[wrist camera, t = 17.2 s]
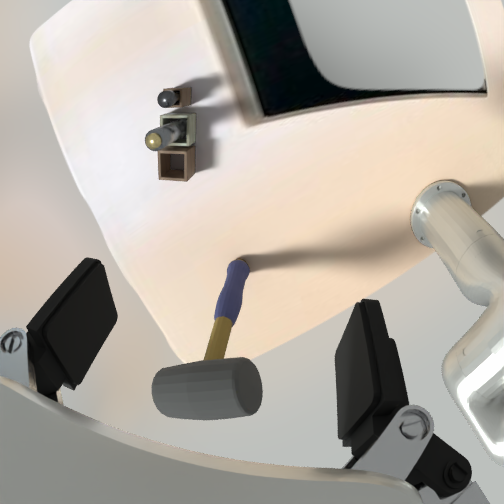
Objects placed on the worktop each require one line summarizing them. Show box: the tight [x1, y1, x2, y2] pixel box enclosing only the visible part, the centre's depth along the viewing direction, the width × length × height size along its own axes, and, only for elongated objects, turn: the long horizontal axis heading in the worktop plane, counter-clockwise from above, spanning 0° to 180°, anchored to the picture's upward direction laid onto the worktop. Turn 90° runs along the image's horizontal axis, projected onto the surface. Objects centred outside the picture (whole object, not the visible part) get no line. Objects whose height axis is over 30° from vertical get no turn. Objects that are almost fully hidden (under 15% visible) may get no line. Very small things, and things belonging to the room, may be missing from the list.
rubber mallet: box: [152, 259, 263, 420], centre depth 41 cm, size 12×8×30 cm, turn 115°
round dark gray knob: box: [157, 90, 180, 108], centre depth 36 cm, size 2×2×6 cm
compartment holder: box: [158, 88, 196, 182], centre depth 40 cm, size 5×14×4 cm, turn 176°
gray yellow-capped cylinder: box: [145, 119, 187, 151], centre depth 37 cm, size 3×3×11 cm
